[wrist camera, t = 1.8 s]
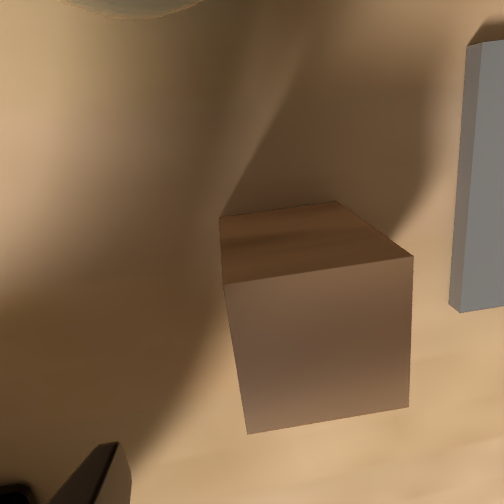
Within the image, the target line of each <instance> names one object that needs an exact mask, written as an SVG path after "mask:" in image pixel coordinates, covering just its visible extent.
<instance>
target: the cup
mask: <svg viewBox="0 0 504 504" xmlns="http://www.w3.org/2000/svg"><path fill="white" fill-rule="evenodd" d="M57 1H59V2H61V3H63V4H66V5H69V6H72V7H75V8H78V9H81V10H84V11H88V12H91V13H94V14H97V15H100V16H104V17H110V18H122V19H133V20H138V19H146V18H154V17H161V16H167V15H170V14H173V13H176V12H179V11H182V10H184V9H187V8H190V7H192V6H194V5H196V4H198V3H199V2H201V1H203V0H57Z"/></svg>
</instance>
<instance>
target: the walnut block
mask: <svg viewBox="0 0 504 504" xmlns="http://www.w3.org/2000/svg"><path fill="white" fill-rule="evenodd" d="M219 226H220V243H221V261H222V278H223V289H224V295H225V301H226V307H227V313H228V319H229V325H230V332H231V338H232V344H233V350H234V356H235V362H236V368H237V375H238V381H239V387H240V393H241V399H242V405H243V411H244V417H245V424H246V430H247V435H248V434H254V433H260V432H266V431H272V430H278V429H283V428H289V427H295V426H301V425H307V424H313V423H319V422H324V421H330V420H336V419H342V418H348V417H354V416H360V415H366V414H371V413H377V412H383V411H389V410H395V409H401V408H407V407H409V384H410V353H411V322H412V291H413V260H414V256H413V255H411V254H410V253H408V252H407V251H406V250H404V249H403V248H401V247H400V246H399V245H397V244H396V243H394V242H393V241H392V240H390V239H389V238H387V237H386V236H385V235H383V234H382V233H380V232H379V231H378V230H376V229H375V228H373V227H372V226H371V225H369V224H368V223H366V222H365V221H364V220H362V219H361V218H359V217H358V216H357V215H355V214H354V213H352V212H351V211H350V210H348V209H347V208H345V207H344V206H343V205H341V204H340V203H338V202H337V201H333V202H326V203H319V204H312V205H305V206H298V207H291V208H284V209H277V210H270V211H263V212H256V213H249V214H242V215H235V216H228V217H220V218H219Z"/></svg>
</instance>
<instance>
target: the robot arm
mask: <svg viewBox="0 0 504 504" xmlns="http://www.w3.org/2000/svg"><path fill="white" fill-rule="evenodd" d="M131 484H132V479H131V471H130V468H129V465H128V462H127V459H126V455H125V452H124V449H123V446H122V444H121V443H120V442H111V443H105V444H100V445H98V446H97V447H96V448H95V449H94V450H93V451H92V452H91V453H90V454H89V455H88V457H87V458H86V459H85V460H84V461H83V462H82V464H81V465H80V466H79V467H78V468H77V469H76V470H75V472H74V473H73V474H72V475H71V476H70V477H69V479H68V480H67V481H66V482H65V483H64V484H63V485H62V487H61V488H60V489H59V490H58V491H57V492H56V494H55V495H54V496H53V497H52V498H51V499H50V500H49V502H48V503H47V504H130V495H131ZM0 504H37V502H36V500H35V498H34V495H33V493H32V491H31V489H30V488H29V487H28V486H26V485H23V484H15V485H9V486H3V487H0Z"/></svg>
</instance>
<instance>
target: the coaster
mask: <svg viewBox="0 0 504 504" xmlns="http://www.w3.org/2000/svg"><path fill="white" fill-rule="evenodd" d="M449 305H450V306H452V307H453V308H454V309H455V310H457V311H458V312H459V313H464V312H470V311H476V310H483V309H489V308H495V307H501V306H504V40H497V41H489V42H482V43H478V44H474V45H470V46H467V52H466V66H465V80H464V94H463V109H462V123H461V137H460V151H459V165H458V179H457V193H456V207H455V221H454V235H453V250H452V264H451V278H450V292H449Z"/></svg>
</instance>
